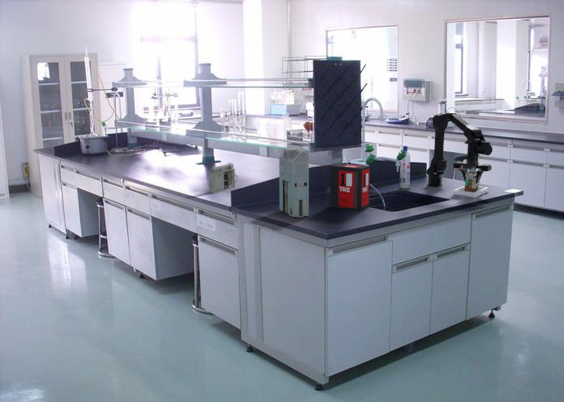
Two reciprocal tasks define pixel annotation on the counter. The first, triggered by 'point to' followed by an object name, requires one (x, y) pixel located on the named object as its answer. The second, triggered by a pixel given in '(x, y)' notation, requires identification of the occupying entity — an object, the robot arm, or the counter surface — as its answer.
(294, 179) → the device
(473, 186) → the food container
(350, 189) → the cleaning product box
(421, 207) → the counter surface
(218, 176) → the geiger counter
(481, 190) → the tray
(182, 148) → the counter surface
